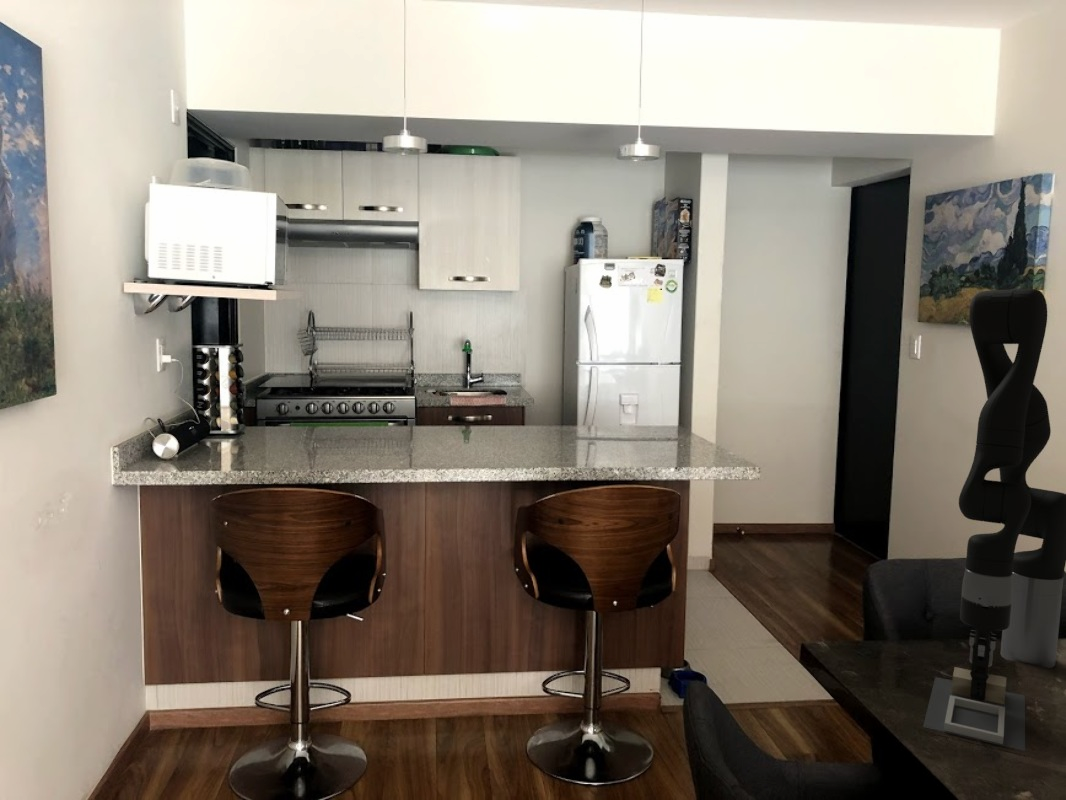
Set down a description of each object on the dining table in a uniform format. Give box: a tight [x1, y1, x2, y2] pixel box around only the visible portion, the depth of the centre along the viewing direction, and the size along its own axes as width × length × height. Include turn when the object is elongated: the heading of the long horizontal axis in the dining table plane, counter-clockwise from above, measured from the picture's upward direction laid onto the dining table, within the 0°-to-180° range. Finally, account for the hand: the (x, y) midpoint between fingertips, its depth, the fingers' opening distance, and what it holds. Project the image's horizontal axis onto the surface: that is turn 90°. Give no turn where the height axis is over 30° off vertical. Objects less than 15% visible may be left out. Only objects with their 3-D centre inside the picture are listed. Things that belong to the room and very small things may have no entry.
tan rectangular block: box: [952, 666, 1007, 704], centre depth 149 cm, size 8×4×3 cm, turn 61°
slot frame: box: [944, 695, 1005, 744], centre depth 138 cm, size 12×8×1 cm
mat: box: [922, 676, 1026, 757], centre depth 142 cm, size 22×14×1 cm, turn 151°
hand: (978, 690), depth 149 cm, fingers open, 6 cm apart
